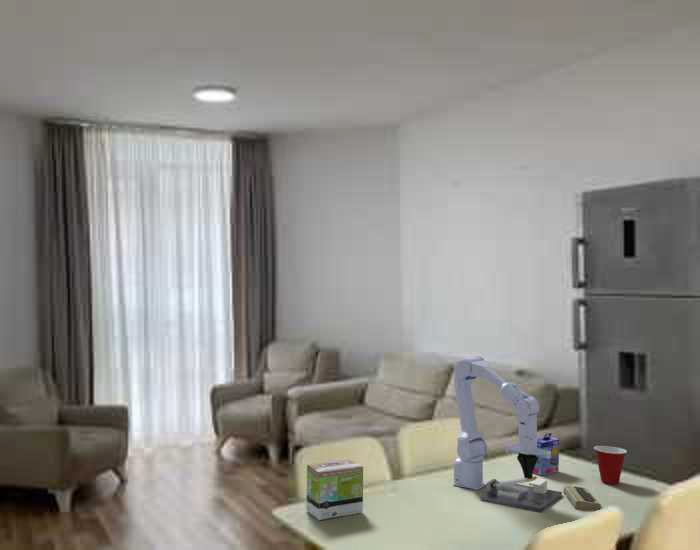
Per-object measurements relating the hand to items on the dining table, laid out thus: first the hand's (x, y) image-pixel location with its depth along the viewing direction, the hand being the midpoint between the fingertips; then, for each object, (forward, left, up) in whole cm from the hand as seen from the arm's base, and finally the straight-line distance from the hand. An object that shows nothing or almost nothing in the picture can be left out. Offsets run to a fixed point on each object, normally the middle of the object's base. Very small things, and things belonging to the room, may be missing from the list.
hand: (528, 477), depth 228 cm
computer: (+14, +10, -8) cm, 19 cm away
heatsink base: (-3, +2, -8) cm, 8 cm away
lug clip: (+1, +6, -6) cm, 9 cm away
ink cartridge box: (-7, +34, -8) cm, 36 cm away
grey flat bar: (-5, 0, -3) cm, 5 cm away
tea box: (-45, -43, -8) cm, 63 cm away
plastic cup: (+16, +35, -8) cm, 39 cm away
